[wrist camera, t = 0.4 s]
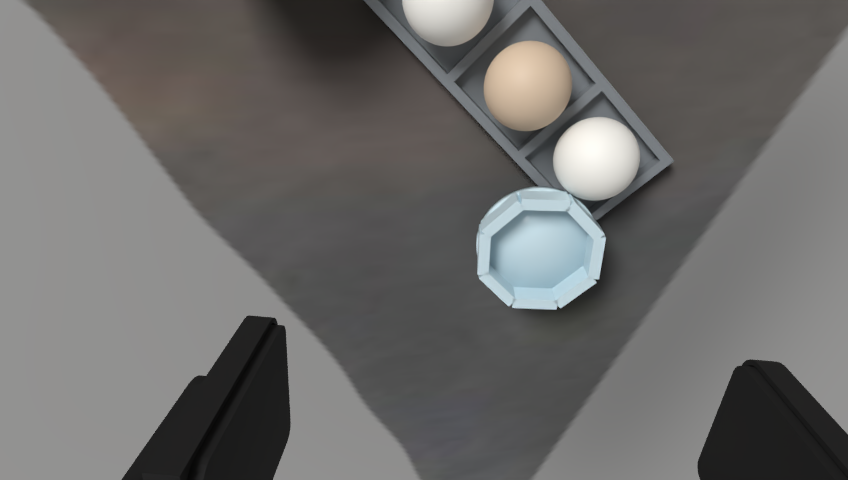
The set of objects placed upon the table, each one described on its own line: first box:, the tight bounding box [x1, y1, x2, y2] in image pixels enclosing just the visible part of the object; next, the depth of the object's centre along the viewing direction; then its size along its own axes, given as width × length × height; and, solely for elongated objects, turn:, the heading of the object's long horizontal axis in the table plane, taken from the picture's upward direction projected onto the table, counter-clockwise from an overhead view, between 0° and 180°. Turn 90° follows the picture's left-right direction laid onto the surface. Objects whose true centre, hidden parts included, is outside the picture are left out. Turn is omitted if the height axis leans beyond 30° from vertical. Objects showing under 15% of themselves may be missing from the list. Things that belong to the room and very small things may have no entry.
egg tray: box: [364, 0, 674, 221], centre depth 32 cm, size 7×20×1 cm, turn 45°
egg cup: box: [476, 186, 606, 310], centre depth 34 cm, size 8×8×5 cm
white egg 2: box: [553, 117, 640, 201], centre depth 31 cm, size 5×5×5 cm
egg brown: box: [484, 41, 572, 131], centre depth 30 cm, size 5×5×5 cm
